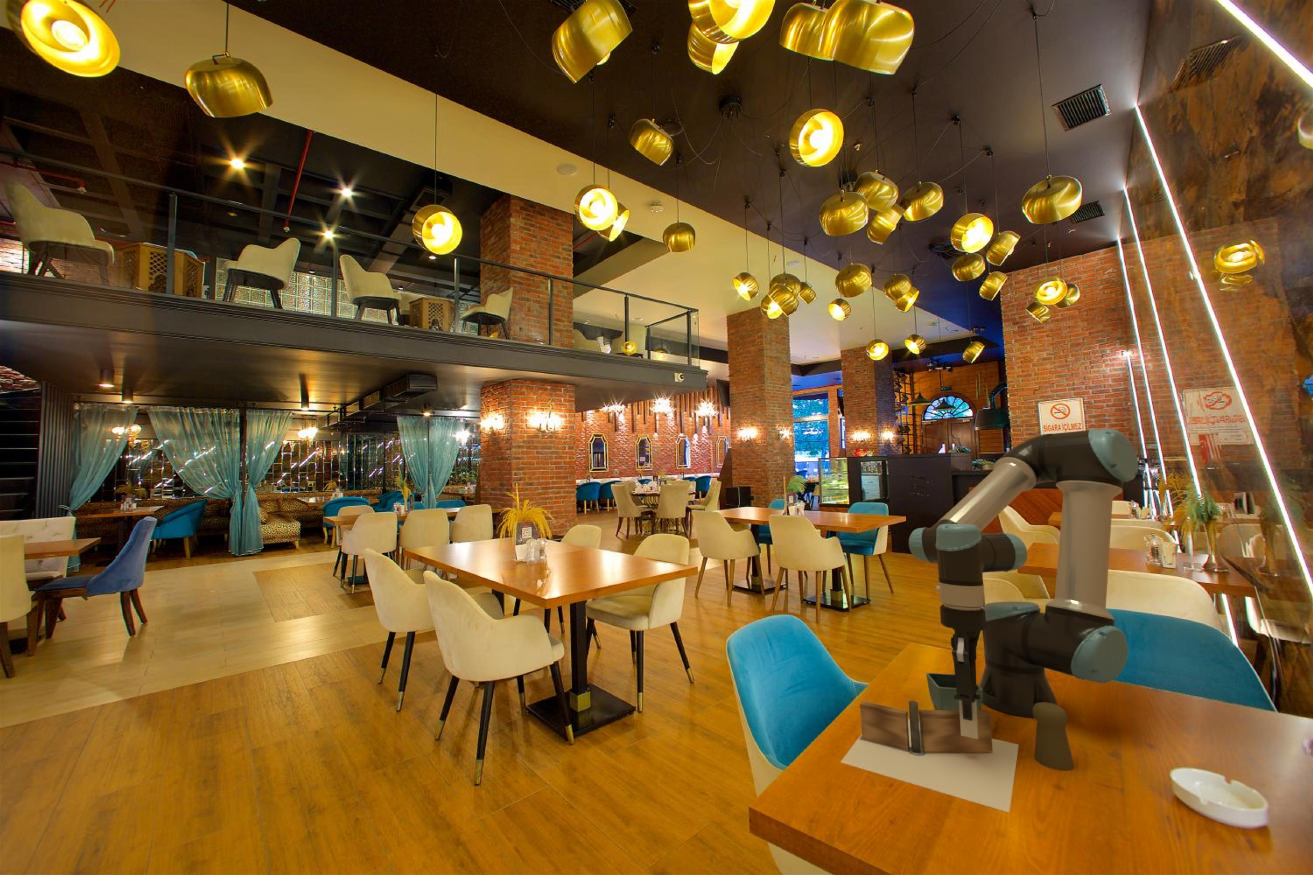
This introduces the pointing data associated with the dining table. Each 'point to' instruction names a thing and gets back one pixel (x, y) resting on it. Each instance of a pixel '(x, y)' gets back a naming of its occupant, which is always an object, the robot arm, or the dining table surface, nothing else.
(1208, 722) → the dining table surface
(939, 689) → the flower pot
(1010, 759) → the card
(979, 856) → the dining table surface
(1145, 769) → the dining table surface
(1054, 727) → the cork
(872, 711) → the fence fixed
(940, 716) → the fence panel
